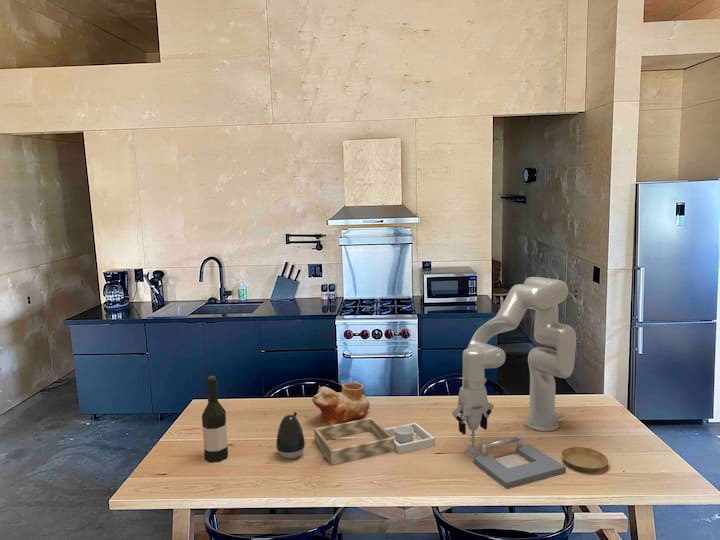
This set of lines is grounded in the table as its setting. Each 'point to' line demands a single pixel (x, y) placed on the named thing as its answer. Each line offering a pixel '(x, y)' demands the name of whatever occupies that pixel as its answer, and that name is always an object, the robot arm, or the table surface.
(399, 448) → the square frame
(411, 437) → the teacup
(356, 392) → the ceramic vessel
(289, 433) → the dark grey pear figure
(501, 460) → the felt pad
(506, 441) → the metal bar handle
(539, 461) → the grey rectangular frame
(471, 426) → the chalice
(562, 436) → the table surface
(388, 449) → the beige brown patterned tray
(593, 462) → the plant saucer
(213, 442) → the wine bottle
